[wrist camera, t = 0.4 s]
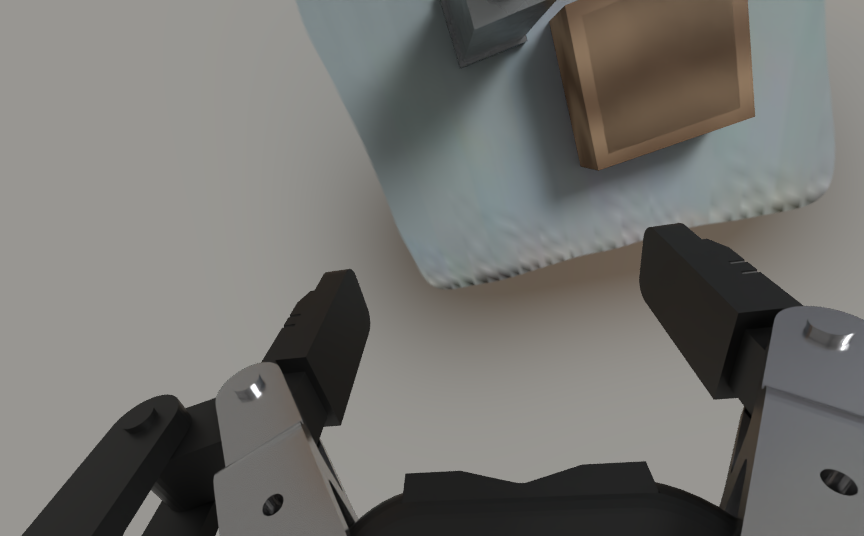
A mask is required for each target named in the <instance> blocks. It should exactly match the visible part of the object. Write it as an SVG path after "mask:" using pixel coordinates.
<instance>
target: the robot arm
mask: <svg viewBox="0 0 864 536" xmlns="http://www.w3.org/2000/svg"><path fill="white" fill-rule="evenodd" d="M639 278H640V279H639V283H640V290H641V293H642V296H643V298H644V300H645V302H646V303H647V305H648V306H649V308H650V309H651V311H652V312H653V313H654V315H655V316H656V317H657V319H658V321H659V322H660V323H661V325H662V326H663V328H664V329H665V330H666V332H667V333H668V335H669V336H670V338H671V339H672V340H673V342H674V343H675V345H676V346H677V348H678V349H679V350H680V352H681V353H682V355H683V356H684V357H685V359H686V360H687V362H688V363H689V365H690V366H691V368H692V369H693V370H694V372H695V373H696V375H697V376H698V378H699V379H700V380H701V382H702V383H703V385H704V386H705V387H706V389H707V390H708V392H709V393H710V395H711V396H712V397H713V399H728V398H739V400H740V401H741V402H742V404H743V405H744V408H743V411H742V414H741V417H740V421H739V426H738V430H737V435H736V439H735V444H734V448H733V453H732V458H731V462H730V466H729V471H728V475H727V480H726V485H725V488H724V492H723V496H722V499H721V503H720V506H719V507H718V506H716V505H714V504H712V503H710V502H708V501H706V500H704V499H702V498H700V497H698V496H696V495H693V494H691V493H688V492H686V491H684V490H681V489H678V488H675V487H671V486H668V485H665V484H660V483H656V482H655V481H654V479H653V477H652V475H651V472H650V470H649V468H648V466H647V463H646V462H626V463H605V464H587V465H580V466H577V467H574V468H570V469H567V470H564V471H561V472H558V473H555V474H552V475H549V476H546V477H543V478H540V479H537V480H534V481H531V482H527V483H514V482H510V481H505V480H500V479H496V478H491V477H486V476H482V475H477V474H472V473H468V472H463V471H451V472H450V471H449V472H430V473H411V474H405V483H404V491H403V493H402V494H399V495H396V496H394V497H392V498H390V499H388V500H386V501H384V502H382V503H380V504H379V505H377V506H376V507H374V508H372V509H371V510H370V511H368V512H367V513H366V514H365V515H364V516H362V517H361V518H360V519H358V517H357V515H356V514H355V511H354V510H353V508H352V506H351V504H350V502H349V500H348V497H347V495H346V493H345V491H344V488H343V486H342V484H341V482H340V480H339V478H338V475H337V473H336V471H335V469H334V467H333V464H332V462H331V460H330V458H329V456H328V454H327V451H326V449H325V447H324V445H323V443H322V441H321V439H320V435H321V432H322V430H323V427H326V426H339V425H341V423H342V420H343V416H344V413H345V410H346V406H347V403H348V400H349V397H350V393H351V390H352V387H353V384H354V380H355V377H356V374H357V370H358V367H359V363H360V361H361V357H362V354H363V351H364V347H365V344H366V341H367V337H368V334H369V331H370V316H369V311H368V308H367V306H366V303H365V300H364V297H363V294H362V292H361V289H360V286H359V283H358V280H357V278H356V275H355V273H354V272H353V271H352V270H351V269H346V270H339V271H332V272H326V273H325V274H324V275H323V277H322V278H321V280H320V282H319V284H318V285H317V287H316V289H315V291H310V292H309V293H308V294H307V295H306V296H304V297H303V298H302V299H301V300H300V301H299V302H298V303H297V304H296V306H295V308H294V309H293V311H292V313H291V314H290V317H289V318H288V319H287V321H286V323H285V324H284V328H282V329H281V331H280V332H279V334H278V336H277V337H276V339H275V341H274V342H273V344H272V346H271V347H270V349H269V350H268V352H267V354H266V356H265V357H264V359H263V360H262V362H261V363H257V364H254V365H251V366H249V367H246V368H244V369H242V370H241V371H239V372H238V373H236V374H235V375H233V376H232V377H231V378H230V379H229V380H228V381H227V382H226V383H225V384H224V385H223V386H222V388H221V389H220V390H219V392H218V394H217V396H216V398H214V399H212V400H209V401H205V402H202V403H200V404H197V405H194V406H191V407H188V408H184V406H183V405H182V404H181V402H180V401H179V400H178V399H177V398H176V397H175V396H173V395H161V396H157V397H154V398H151V399H149V400H146V401H144V402H142V403H140V404H139V405H137V406H136V407H134V408H133V409H131V410H130V411H128V412H127V413H126V414H125V415H124V416H122V417H121V418H120V419H119V420H118V421H117V422H116V423H115V424H114V425H113V426H112V428H111V429H110V430H109V431H108V432H107V434H106V435H105V436H104V437H103V439H102V440H101V441H100V442H99V443H98V444H97V446H96V447H95V448H94V449H93V450H92V452H91V453H90V454H89V455H88V457H87V458H86V459H85V460H84V461H83V463H82V464H81V465H80V466H79V467H78V468H77V470H76V471H75V472H74V473H73V474H72V476H71V477H70V478H69V479H68V480H67V482H66V483H65V484H64V485H63V486H62V488H61V489H60V490H59V491H58V492H57V494H56V495H55V496H54V498H53V499H52V500H51V501H50V502H49V503H48V505H47V506H46V507H45V508H44V510H42V512H41V513H40V514H39V515H38V517H37V518H36V519H35V520H34V521H33V523H32V524H31V525H30V526H29V527H28V528H27V530H26V531H25V532H24V533H23V534H22V536H123V534H124V532H125V530H126V528H127V527H128V525H129V523H130V522H131V520H132V519H133V517H134V516H135V514H136V513H137V511H138V509H139V508H140V506H141V505H142V503H143V501H144V500H145V498H146V496H147V495H148V493H149V492H150V490H152V491H153V492H154V493H155V494H156V495H157V496H158V497H159V498H160V499H161V500H162V502H161V504H160V505H159V507H158V509H157V510H156V512H155V514H154V516H153V517H152V519H151V521H150V522H149V524H148V526H147V528H146V529H145V531H144V533H143V534H142V536H215V535H216V532H217V530H218V528H219V534H220V536H864V320H863V319H861V318H858V317H856V316H854V315H851V314H848V313H845V312H842V311H838V310H834V309H830V308H824V307H815V306H803V305H802V304H801V303H799V302H798V301H797V300H795V299H794V298H793V297H792V296H790V295H789V294H788V293H786V292H785V291H784V290H783V289H781V288H780V287H779V286H778V285H776V284H775V283H774V282H772V281H771V280H770V279H769V278H767V277H766V276H765V275H764V274H762V273H761V272H757V269H756V268H755V267H753V266H752V265H751V264H749V263H748V262H744V259H743V258H742V257H740V256H739V255H738V254H737V253H735V252H734V251H733V250H732V249H730V248H729V247H726V246H724V245H721V244H719V243H716V242H714V241H712V240H709V239H701V238H700V237H698V236H697V235H696V234H694V232H692V231H691V230H690V229H689V228H688V227H686V226H685V225H684V224H682V223H677V224H669V225H662V226H655V227H649V228H647V229H646V231H645V233H644V238H643V248H642V259H641V268H640V277H639Z"/></svg>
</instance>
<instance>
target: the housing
mask: <svg viewBox="0 0 864 536" xmlns="http://www.w3.org/2000/svg"><path fill="white" fill-rule="evenodd" d="M555 1H556V0H440V2H441V6H442V9H443V12H444V16H445V19H446V23H447V26H448V29H449V33H450V36H451V39H452V43H453V46H454V50H455V53H456V56H457V60H458V63H459V66H460V69H461V68H463V67H466V66H468V65H471V64H473V63H476V62H478V61H481V60H483V59H486V58H488V57H491V56H493V55H496V54H498V53H501V52H503V51H506V50H508V49H511V48H513V47H516V46H518V45H521V44H523V43H525V42H526V41H527V37H526V34H527V33H528V31H529V30H530V29H531V28H532V27H533V26H534V25H535V24H536V22H537V21H538V20H539V19H540V18H541V17H542V16H543V15H544V13H545V12H546V11H547V10H548V9H549V8H550V7H551V6H552V4H553V3H554V2H555Z"/></svg>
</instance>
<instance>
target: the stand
mask: <svg viewBox="0 0 864 536" xmlns="http://www.w3.org/2000/svg"><path fill="white" fill-rule="evenodd" d="M549 23H550V27H551V32H552V37H553V41H554V46H555V50H556V55H557V60H558V64H559V69H560V74H561V78H562V83H563V87H564V92H565V97H566V101H567V106H568V110H569V115H570V120H571V124H572V129H573V133H574V138H575V143H576V147H577V152H578V156H579V161H580V166H581V167H586V168H590V169H594V170H598V171H599V170H601V169H604V168H607V167H610V166H613V165H616V164H619V163H622V162H625V161H627V160H630V159H633V158H636V157H639V156H642V155H645V154H648V153H651V152H654V151H656V150H659V149H662V148H665V147H668V146H671V145H674V144H677V143H680V142H682V141H685V140H688V139H691V138H694V137H697V136H700V135H703V134H706V133H709V132H711V131H714V130H717V129H720V128H723V127H726V126H729V125H732V124H735V123H737V122H740V121H743V120H746V119H749V118H752V117H755V108H754V92H753V77H752V61H751V45H750V30H749V14H748V0H578V1H575V2H573V3H570V4H568V5H565V6H564V7H563V8H562V9H561V10H560V11H559V12H558V13H557V14H556V15H555V16H554V17H553V18H552V19H551V20H550V21H549Z"/></svg>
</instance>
